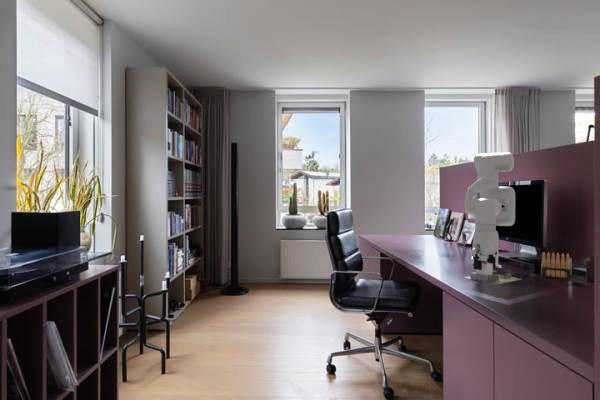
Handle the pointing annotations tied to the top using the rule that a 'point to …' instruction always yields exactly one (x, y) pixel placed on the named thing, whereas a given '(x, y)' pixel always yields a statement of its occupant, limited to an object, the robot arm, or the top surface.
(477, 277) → the frame
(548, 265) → the ammunition clip
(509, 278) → the board
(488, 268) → the plug
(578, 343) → the top surface
